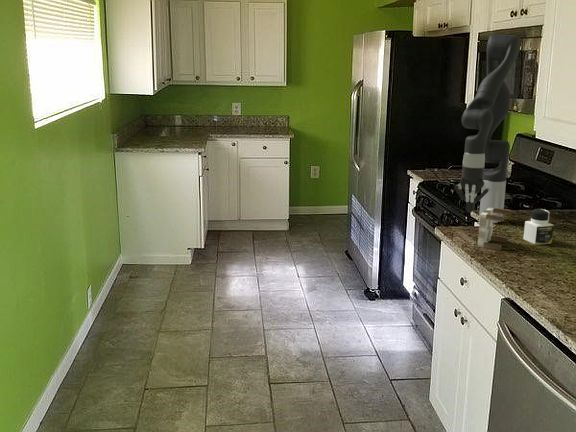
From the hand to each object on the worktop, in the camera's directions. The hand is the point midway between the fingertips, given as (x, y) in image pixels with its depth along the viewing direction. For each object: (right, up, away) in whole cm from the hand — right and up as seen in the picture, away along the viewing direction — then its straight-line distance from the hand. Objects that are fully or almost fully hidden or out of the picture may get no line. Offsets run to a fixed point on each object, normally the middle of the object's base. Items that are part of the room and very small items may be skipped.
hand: (469, 211), depth 223 cm
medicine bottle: (+25, -11, +1) cm, 28 cm away
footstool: (+8, -12, -2) cm, 14 cm away
